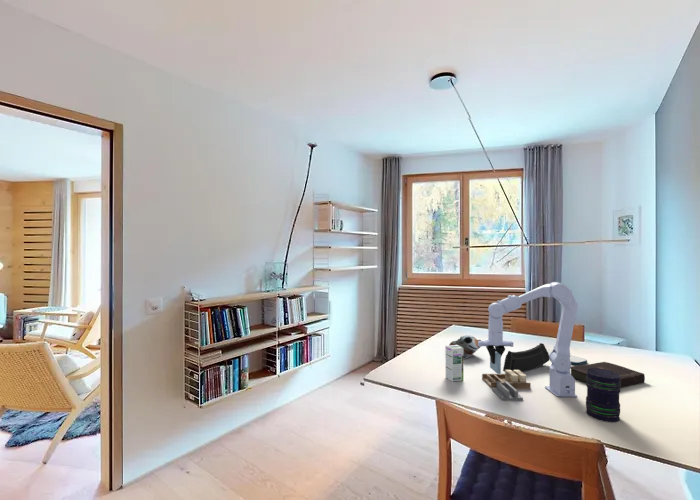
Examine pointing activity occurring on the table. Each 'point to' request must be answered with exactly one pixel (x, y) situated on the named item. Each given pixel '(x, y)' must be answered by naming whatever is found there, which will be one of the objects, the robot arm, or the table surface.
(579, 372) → the diary
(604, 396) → the storage jar
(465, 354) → the lucky cat figurine
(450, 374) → the syrup box
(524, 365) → the magazine
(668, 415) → the table surface
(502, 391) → the holder
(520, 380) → the offcut
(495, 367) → the tall board
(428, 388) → the table surface
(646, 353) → the table surface
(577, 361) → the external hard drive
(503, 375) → the rack
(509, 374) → the offcut
